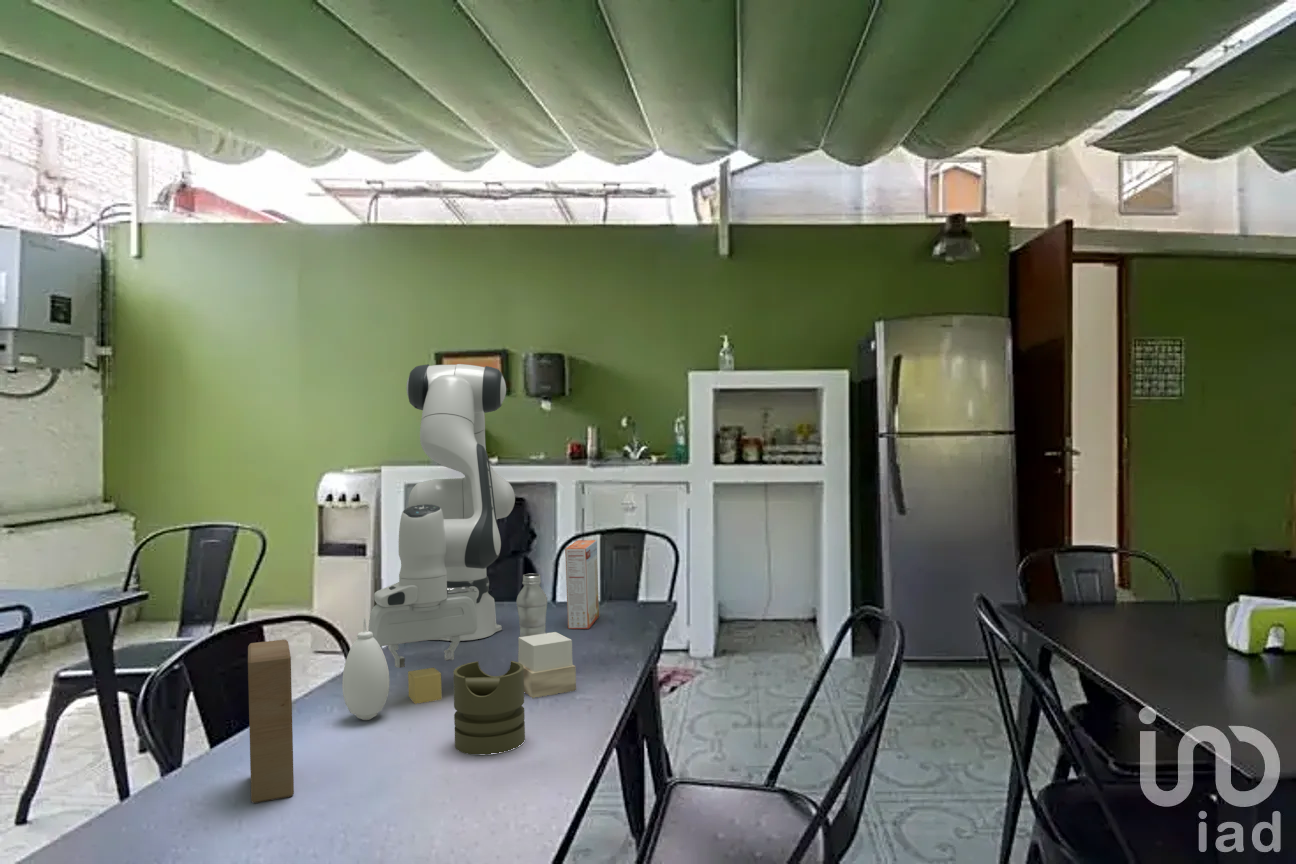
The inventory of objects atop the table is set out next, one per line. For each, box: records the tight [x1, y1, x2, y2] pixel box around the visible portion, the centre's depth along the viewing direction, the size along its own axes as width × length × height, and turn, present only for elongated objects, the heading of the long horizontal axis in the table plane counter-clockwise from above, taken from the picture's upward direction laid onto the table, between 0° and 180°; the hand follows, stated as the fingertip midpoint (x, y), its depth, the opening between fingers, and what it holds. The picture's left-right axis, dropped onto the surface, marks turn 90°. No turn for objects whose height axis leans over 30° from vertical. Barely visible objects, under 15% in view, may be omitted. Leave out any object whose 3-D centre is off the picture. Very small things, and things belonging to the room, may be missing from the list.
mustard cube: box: [407, 667, 443, 705], centre depth 166 cm, size 5×5×5 cm
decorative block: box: [247, 639, 295, 804], centre depth 126 cm, size 11×6×20 cm, turn 23°
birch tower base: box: [517, 661, 577, 699], centre depth 171 cm, size 9×9×5 cm
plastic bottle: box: [515, 573, 548, 662], centre depth 184 cm, size 6×7×20 cm
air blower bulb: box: [341, 617, 390, 721], centre depth 155 cm, size 8×8×18 cm
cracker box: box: [564, 539, 600, 630], centre depth 226 cm, size 14×6×21 cm, turn 172°
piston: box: [452, 660, 526, 755], centre depth 142 cm, size 11×12×11 cm
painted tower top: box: [517, 631, 574, 672], centre depth 171 cm, size 8×8×5 cm
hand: (424, 663), depth 166 cm, fingers open, 8 cm apart
